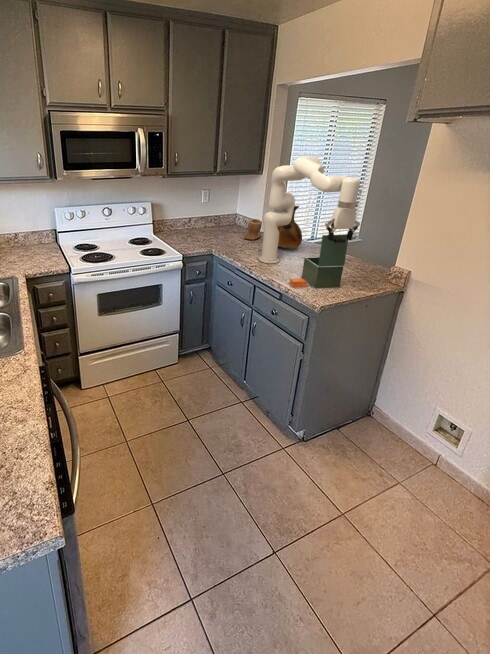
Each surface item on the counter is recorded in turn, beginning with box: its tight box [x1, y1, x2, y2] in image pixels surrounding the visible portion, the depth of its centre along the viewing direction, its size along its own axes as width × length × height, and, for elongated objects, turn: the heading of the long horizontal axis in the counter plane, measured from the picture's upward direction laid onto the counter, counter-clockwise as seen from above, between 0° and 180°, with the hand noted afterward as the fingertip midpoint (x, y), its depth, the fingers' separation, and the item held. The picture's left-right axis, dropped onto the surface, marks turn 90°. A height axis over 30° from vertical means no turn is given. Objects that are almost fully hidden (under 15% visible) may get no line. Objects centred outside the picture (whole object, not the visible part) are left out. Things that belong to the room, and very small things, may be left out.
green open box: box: [301, 256, 345, 289], centre depth 193 cm, size 16×14×12 cm
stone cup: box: [243, 218, 263, 241], centre depth 272 cm, size 15×12×15 cm
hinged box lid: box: [319, 233, 349, 267], centre depth 179 cm, size 16×14×5 cm
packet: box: [289, 277, 308, 288], centre depth 190 cm, size 7×4×3 cm, turn 96°
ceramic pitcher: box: [277, 205, 303, 250], centre depth 249 cm, size 20×20×30 cm
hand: (339, 239), depth 175 cm, fingers open, 9 cm apart
